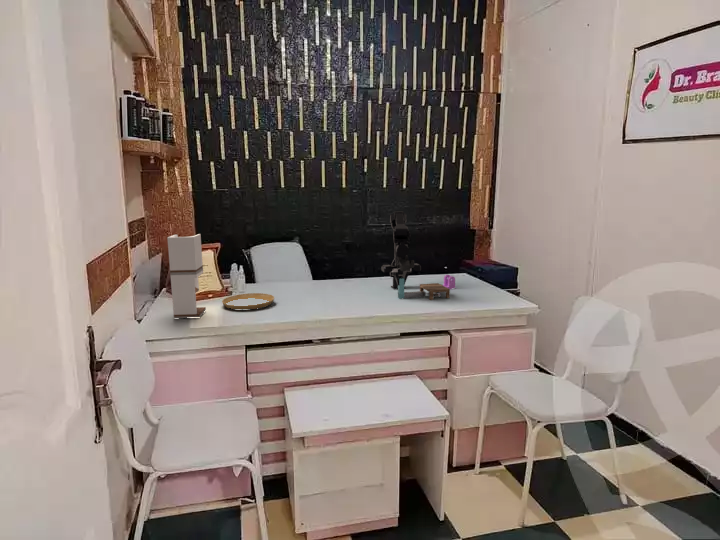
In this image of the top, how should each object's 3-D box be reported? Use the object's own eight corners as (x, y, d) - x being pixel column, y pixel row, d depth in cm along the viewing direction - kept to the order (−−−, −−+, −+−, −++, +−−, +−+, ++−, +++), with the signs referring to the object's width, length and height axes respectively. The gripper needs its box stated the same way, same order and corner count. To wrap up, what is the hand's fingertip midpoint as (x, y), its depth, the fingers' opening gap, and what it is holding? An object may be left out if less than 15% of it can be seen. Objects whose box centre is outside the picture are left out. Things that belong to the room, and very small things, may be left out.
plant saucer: (222, 314, 215) (221, 307, 214) (222, 301, 238) (222, 295, 237) (277, 310, 221) (276, 302, 220) (272, 298, 244) (271, 291, 243)
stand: (419, 293, 250) (419, 284, 249) (437, 292, 252) (438, 283, 251) (430, 299, 236) (430, 290, 235) (449, 298, 238) (449, 289, 237)
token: (428, 295, 246) (428, 293, 246) (437, 295, 247) (438, 292, 247) (432, 297, 241) (432, 295, 241) (441, 297, 242) (441, 294, 242)
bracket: (449, 286, 265) (449, 274, 264) (455, 288, 260) (455, 276, 259) (428, 289, 260) (428, 276, 259) (433, 291, 255) (433, 278, 254)
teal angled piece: (397, 297, 241) (397, 277, 239) (424, 295, 244) (424, 276, 242) (399, 298, 239) (399, 278, 237) (425, 296, 242) (426, 277, 240)
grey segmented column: (199, 318, 207) (193, 237, 201) (174, 319, 206) (167, 237, 200) (205, 311, 218) (200, 234, 212) (181, 312, 217) (175, 234, 211)
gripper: (387, 256, 226) (387, 289, 229) (425, 255, 230) (424, 287, 233) (381, 253, 237) (381, 284, 240) (417, 252, 241) (416, 282, 244)
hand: (401, 285), depth 239 cm, fingers closed on teal angled piece, 2 cm apart
